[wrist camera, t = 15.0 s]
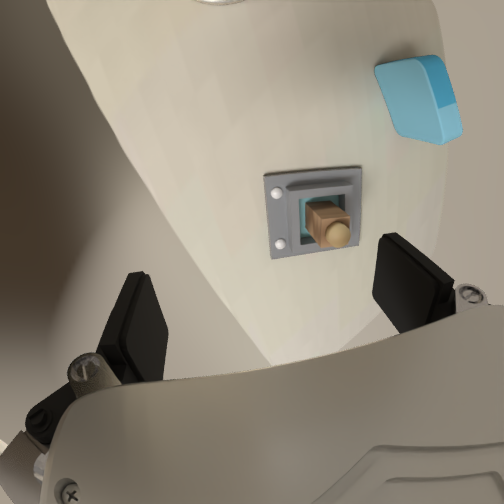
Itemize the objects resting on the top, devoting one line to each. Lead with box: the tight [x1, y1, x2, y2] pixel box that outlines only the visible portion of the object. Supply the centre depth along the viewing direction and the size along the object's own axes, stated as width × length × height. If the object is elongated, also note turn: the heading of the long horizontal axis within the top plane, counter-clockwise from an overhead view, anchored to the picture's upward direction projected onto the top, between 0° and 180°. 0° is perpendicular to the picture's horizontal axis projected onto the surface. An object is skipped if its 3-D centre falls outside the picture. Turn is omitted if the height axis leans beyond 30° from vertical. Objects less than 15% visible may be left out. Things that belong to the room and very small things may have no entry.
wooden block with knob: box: [305, 201, 351, 248], centre depth 38 cm, size 4×4×8 cm
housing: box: [263, 167, 362, 259], centre depth 41 cm, size 13×15×4 cm
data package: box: [374, 55, 463, 145], centre depth 30 cm, size 12×4×12 cm, turn 26°
